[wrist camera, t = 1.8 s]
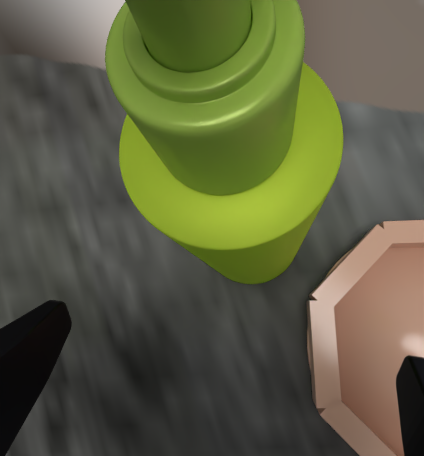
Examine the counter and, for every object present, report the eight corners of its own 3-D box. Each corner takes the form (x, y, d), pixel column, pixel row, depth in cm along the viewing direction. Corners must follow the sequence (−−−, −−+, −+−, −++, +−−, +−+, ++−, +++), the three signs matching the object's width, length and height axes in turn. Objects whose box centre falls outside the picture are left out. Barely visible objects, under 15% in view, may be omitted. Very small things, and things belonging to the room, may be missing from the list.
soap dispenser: (325, 204, 21) (839, -720, 2) (268, 303, 21) (262, 248, 1) (242, 162, 23) (104, -618, 4) (186, 253, 22) (-375, -117, 3)
